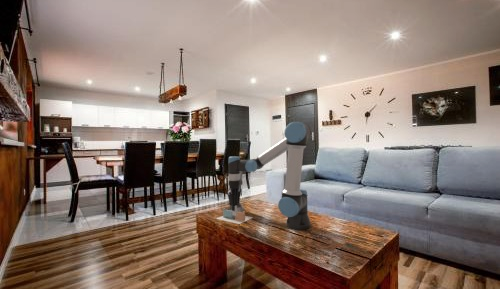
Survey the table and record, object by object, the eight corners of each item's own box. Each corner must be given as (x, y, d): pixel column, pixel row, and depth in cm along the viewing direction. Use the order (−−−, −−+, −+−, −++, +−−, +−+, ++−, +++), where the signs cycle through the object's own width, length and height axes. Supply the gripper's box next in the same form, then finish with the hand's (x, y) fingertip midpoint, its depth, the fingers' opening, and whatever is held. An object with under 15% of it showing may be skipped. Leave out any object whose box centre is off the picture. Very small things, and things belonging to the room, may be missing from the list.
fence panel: (245, 220, 159) (245, 211, 159) (244, 221, 158) (244, 212, 158) (236, 218, 164) (236, 209, 164) (235, 219, 163) (234, 210, 163)
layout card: (253, 217, 167) (253, 217, 167) (239, 224, 154) (239, 223, 154) (230, 213, 179) (230, 212, 179) (216, 218, 166) (216, 218, 166)
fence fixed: (235, 219, 164) (235, 209, 164) (234, 219, 163) (233, 209, 163) (224, 216, 171) (224, 207, 171) (222, 217, 169) (222, 207, 169)
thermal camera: (243, 212, 179) (242, 167, 179) (226, 212, 180) (225, 167, 180) (245, 208, 191) (244, 165, 191) (229, 208, 192) (228, 165, 192)
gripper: (236, 178, 163) (236, 211, 163) (223, 180, 153) (223, 216, 153) (244, 179, 159) (245, 213, 159) (232, 181, 148) (232, 219, 148)
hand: (234, 215), depth 156 cm, fingers closed
